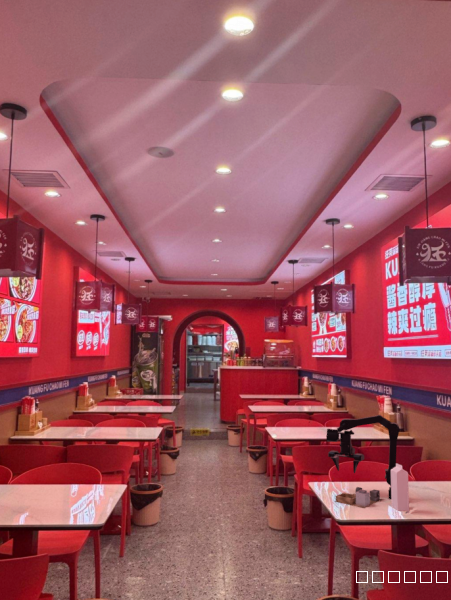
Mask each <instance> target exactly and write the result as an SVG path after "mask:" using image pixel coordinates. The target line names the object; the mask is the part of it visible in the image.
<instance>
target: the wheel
mask: <svg viewBox="0 0 451 600" xmlns="http://www.w3.org/2000/svg"><path fill="white" fill-rule="evenodd" d="M359 490H363V488H362V487H360V486H357V487H356V488H355V493H354V494H356V492H358V491H359Z"/></svg>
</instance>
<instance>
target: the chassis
mask: <svg viewBox="0 0 451 600" xmlns="http://www.w3.org/2000/svg"><path fill="white" fill-rule="evenodd" d="M369 492H370V505H369V506H367V507H363V506H359V505H356V493H347V492H342V493H339V494H337V495H335V501H334V503H338V504H343V505H347V506H353V507H356V508H361V509H366V508H368V507H370V506H372V505H374V504H377V503H378V502H381V501H382V500H384V499H382V498H380V496H381V495H380V490H379V489H372V490H370V491H369Z"/></svg>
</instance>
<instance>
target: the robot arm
mask: <svg viewBox="0 0 451 600" xmlns="http://www.w3.org/2000/svg"><path fill="white" fill-rule="evenodd" d="M372 424H380V425H381V426H383V427H384V428H385V429H387V431H388V437H389V438H388V439H389V448H388V451H389V452H388V453H389V454H388V467H387V468H385V469H384V470H385V475H384V480H386V481H385V482H386V483H387V485H388V486H389V489H388V491H387V492H388V500H391V469H393V468H394V467H396V463H397V445H398V444H397V443H398V438H399V434H400V425H399V424H398V423H396V422H392V421H391V420H389V419H387V418H386V417H384V416H382V414H377V415H373V416H366V417H361V418H343V419H341V421H340V422H339V426H338V427H337V429H336V428H335V429H333V428H327V429H326V442H333V443H334V442H335V443H337V442H338V441H340V444H339V447H340V452H339V451H338V450H330V451H328V452H327V453H328V454H327V457H328V458H330V459H331V460H332V462H333V463H334V466H335V469H336V470H337V471H340V462H339V460H340V457H342V458H350V459H353V460H352V463H353V464H352V466H353V467H352V470H353V474H355V473H356V472H357V468H358V466H359V464H360V462H362V461H363V460H365V455H364V453H356V448H354V447H353V444H352V435H355V431H353V428H357V427H360V426H367V425H372ZM342 431H343V432H342Z"/></svg>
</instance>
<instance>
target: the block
mask: <svg viewBox="0 0 451 600" xmlns="http://www.w3.org/2000/svg"><path fill="white" fill-rule="evenodd" d="M355 494H356V505H359V506H363V507H366V508H368V507H370V506H371V505H370V491H368V490H366V489H365V490H364V489H362V490H359V491H358V492H356V493H355ZM369 505H370V506H369ZM367 506H368V507H367Z"/></svg>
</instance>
